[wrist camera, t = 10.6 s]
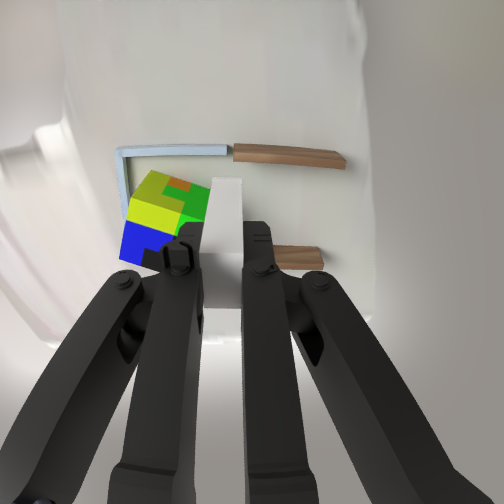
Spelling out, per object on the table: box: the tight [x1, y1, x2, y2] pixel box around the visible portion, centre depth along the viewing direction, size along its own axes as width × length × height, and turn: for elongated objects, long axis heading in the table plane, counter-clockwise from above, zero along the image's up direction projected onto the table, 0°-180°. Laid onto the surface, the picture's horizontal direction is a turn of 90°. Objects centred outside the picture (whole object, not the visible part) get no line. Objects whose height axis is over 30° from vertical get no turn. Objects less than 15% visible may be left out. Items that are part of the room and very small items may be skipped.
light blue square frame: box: [114, 144, 227, 226], centre depth 44 cm, size 18×17×2 cm
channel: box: [233, 144, 346, 270], centre depth 44 cm, size 18×15×5 cm
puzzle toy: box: [119, 170, 210, 272], centre depth 42 cm, size 10×10×10 cm
